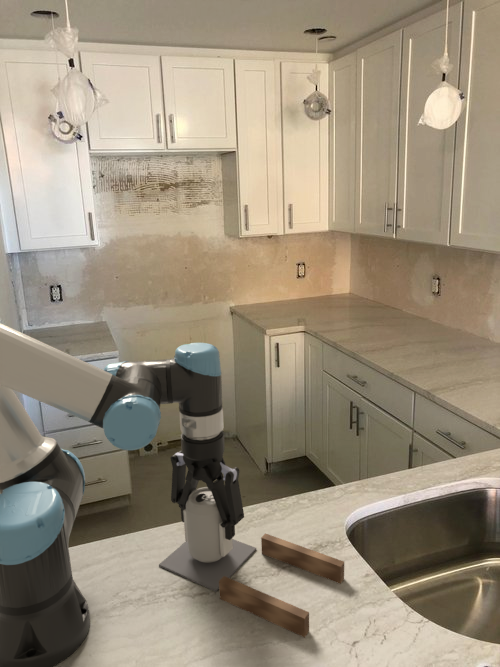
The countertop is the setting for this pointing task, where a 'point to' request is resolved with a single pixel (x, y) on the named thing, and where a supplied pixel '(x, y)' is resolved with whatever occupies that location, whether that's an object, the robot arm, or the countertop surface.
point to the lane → (272, 606)
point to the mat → (207, 564)
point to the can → (203, 526)
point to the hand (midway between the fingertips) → (208, 544)
